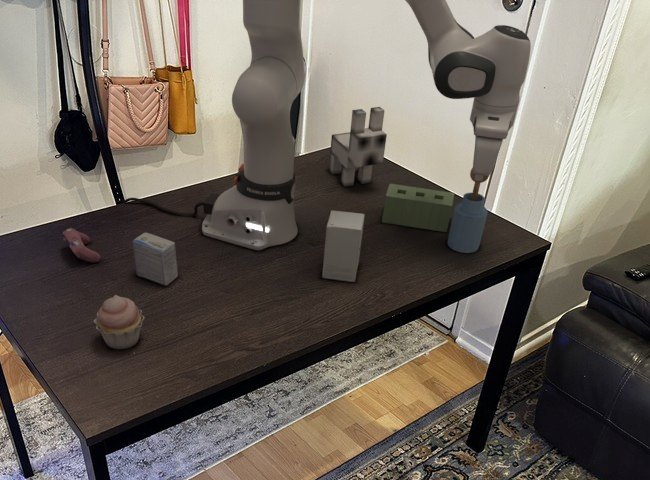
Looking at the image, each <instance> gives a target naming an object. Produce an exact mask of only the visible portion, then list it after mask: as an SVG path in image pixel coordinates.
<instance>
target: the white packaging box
mask: <svg viewBox="0 0 650 480" xmlns="http://www.w3.org/2000/svg"><path fill="white" fill-rule="evenodd" d="M329 213H330V214H329V217H328V221H327V224H326V229H325V241H324V250H323V251H324V252H323V265H322V274H321V278H322V279H327V280H335V281H343V282H350V283H355V282H356V278H357V273H358V268H359V267H358V266H359V263H360V255H361V248H362V239H363V231H364V224H365V215H366V214H365V213H360V212H359V213H358V212H351V211H341V210H333V209H332V210H330V212H329Z"/></svg>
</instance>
